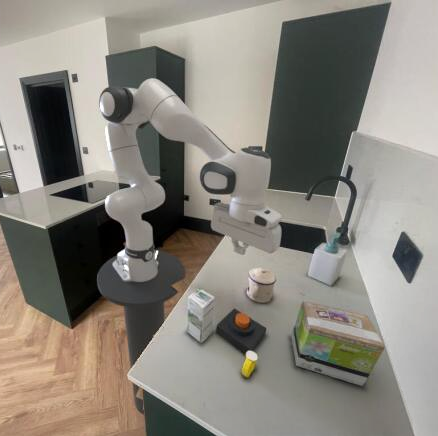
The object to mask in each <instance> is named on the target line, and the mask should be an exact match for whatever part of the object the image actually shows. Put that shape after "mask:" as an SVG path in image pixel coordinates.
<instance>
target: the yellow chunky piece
mask: <svg viewBox="0 0 438 436" xmlns="http://www.w3.org/2000/svg"><path fill="white" fill-rule="evenodd" d="M258 357H259V355H258V354H257V352H255V351H254V350H253V351H247V352H246V355H245V358H246V359H245V361H244V363H243V366H242V368H241V374H242V375H243V376H244V377H245V378H249V377H250V375H251V373H252V372H253V371H254V370H255V367H256V364H257V363H258Z"/></svg>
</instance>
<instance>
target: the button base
mask: <svg viewBox="0 0 438 436" xmlns="http://www.w3.org/2000/svg"><path fill="white" fill-rule="evenodd" d="M238 313H242V311H240V310H238V309H237V308H232V310H231V311H230V312H228V314H226V315H225V317H223V318H222V319H221V321H219V322H218V323H217V324H216V328H215V334H217V335H218V336H220V337H221V338H222V339H224V340H225V341H226V342H228V343H229V344H230V345H232V346H233V347H234V348H236V349H237V350H239V352H241V353H243V355H245V356H246V352H247V351H253V352H254V351H255V349H256V348H257V347H258V345H259V344H260V343H261V342H262V340H263V339H264V338H265V336H266V332H267V327H266V326H264V325H262V324H261V323H259V322H258V321H256V320H254V319H253V318H251V317H250V316H249V315H247V316H248V317H249V318H250V322H249V326H248V328H245V329H243V328H240V327H238V326H237V325H236V324H235V318H236V315H237V314H238Z"/></svg>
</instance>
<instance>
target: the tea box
mask: <svg viewBox="0 0 438 436" xmlns="http://www.w3.org/2000/svg"><path fill="white" fill-rule="evenodd" d="M291 332H292V333H291V335H290V338H291V343H292V349H293V356H294V362H295V366H296V367H299V368H303V369H306V370H309V371H312V372H316V373H319V374H321V375H322V374H323V375H325V376H329V377H331V378H334V379H338V380H342V381H344V382H348V383H351V384H354V385H357V386H360V387H363V386H364V385H365V383H366V381H367V380H368V379H369V377H370V375H371V373H372V371H373V369H374V368H375V366H376V364H377V363H378V361H379V359H380V357H381V355H382V354H383V352H384V350H385V348H386V347H385V344H384V343H383V341H382V339H381V337H380V335H379V333H378V332H377V330H376V328H375V326H374V324H373V323H372V321H371V318H370V316H369V315H368V314H364V313H358V312H354V311H351V310H345V309H340V308H336V307H333V306H332V307H331V306H327V305H323V304H318V303H314V302H309V301H304V300H303V301H302V302H301V305H300V308H299V311H298V314H297V317H296V319H295V323H294V327H293V329H292V331H291Z"/></svg>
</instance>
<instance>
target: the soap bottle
mask: <svg viewBox="0 0 438 436" xmlns="http://www.w3.org/2000/svg"><path fill="white" fill-rule="evenodd" d="M340 236H341V232H336V233H334V234H333V235H332V236H331V241H330V242H328V243H326V242H322V243H321V244H319V245H318V246H316V248H315V249H314V251H313V255H312V258H311V262H310V265H309V270H308V272H307V277H310V278H313V279H315V280H317V281H319V282H322V283H323V284H326V285H328V286H330V287H331V286H332V285H333V284H334V283H335V282H336V281H337V279H338V278H339V277H340V274H341V272H342V269H343V265H344V262H345V260H346V257H347V254H348V250H347V249H344V248H343V247H342V248H341V247H338V243H337V242H338V239H339V238H340Z"/></svg>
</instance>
